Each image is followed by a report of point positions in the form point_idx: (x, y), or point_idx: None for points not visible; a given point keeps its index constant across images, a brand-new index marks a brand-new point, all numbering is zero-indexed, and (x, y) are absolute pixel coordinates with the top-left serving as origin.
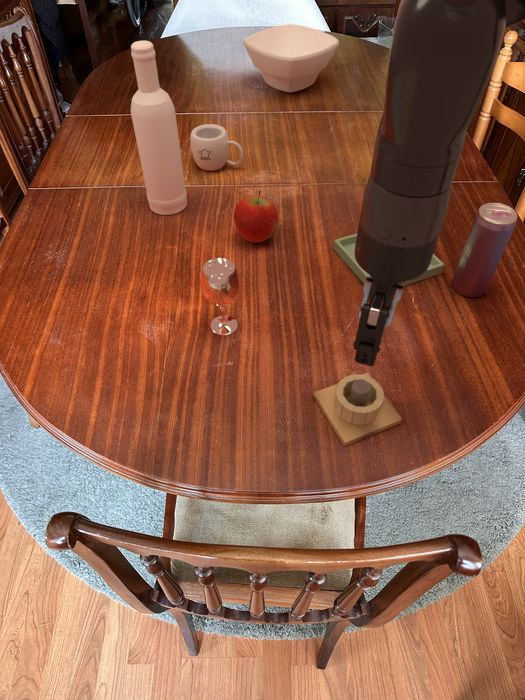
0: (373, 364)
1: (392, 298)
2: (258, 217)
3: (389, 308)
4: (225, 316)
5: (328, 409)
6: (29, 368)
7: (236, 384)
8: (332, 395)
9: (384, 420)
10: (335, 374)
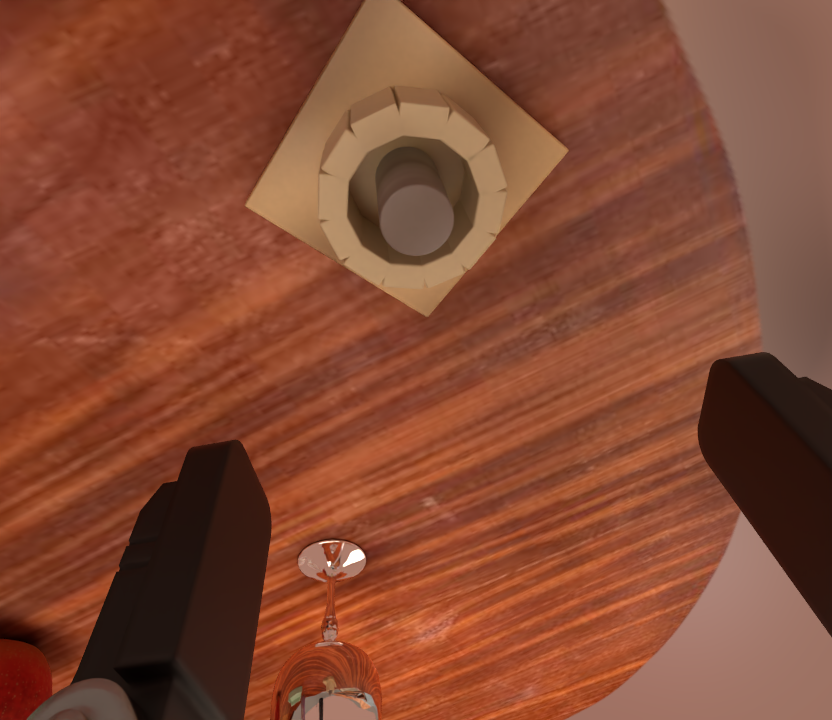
0: (771, 359)
1: (194, 602)
2: None
3: (221, 496)
4: (308, 572)
5: None
6: (595, 683)
7: (481, 465)
8: None
9: (418, 53)
10: (306, 288)
